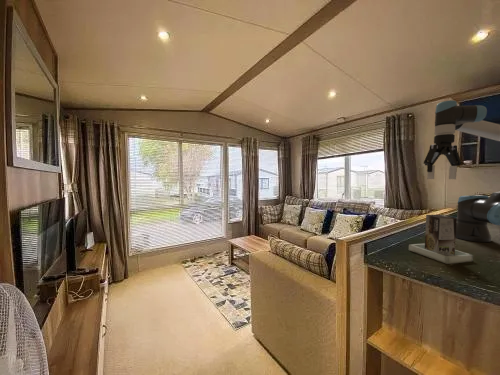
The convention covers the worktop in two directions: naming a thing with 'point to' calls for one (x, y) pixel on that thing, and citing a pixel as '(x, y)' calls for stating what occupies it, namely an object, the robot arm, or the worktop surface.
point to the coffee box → (440, 234)
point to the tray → (457, 258)
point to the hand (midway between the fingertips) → (441, 179)
